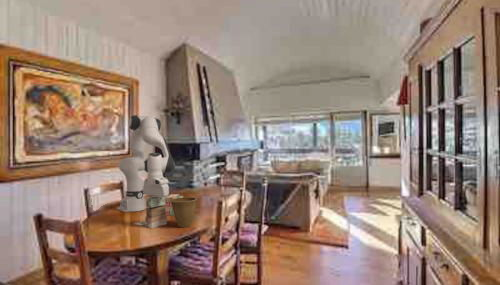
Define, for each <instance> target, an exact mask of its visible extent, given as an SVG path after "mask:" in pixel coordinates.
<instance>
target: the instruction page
mask: <svg viewBox="0 0 500 285" xmlns="http://www.w3.org/2000/svg"><path fill="white" fill-rule="evenodd" d="M133 225H136V226H144V225H145V220H142V221H138V222H133Z"/></svg>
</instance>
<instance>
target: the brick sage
mask: <svg viewBox="0 0 500 285" xmlns="http://www.w3.org/2000/svg"><path fill="white" fill-rule="evenodd" d="M158 199H159V198H158V196H153V197H150V198H149V197H146V198H145V205H146V208H152V207H157V206H161V205H162V206H165V197H162V200H161V204H158V203H157V201H158Z"/></svg>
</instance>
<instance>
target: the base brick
mask: <svg viewBox="0 0 500 285" xmlns="http://www.w3.org/2000/svg"><path fill="white" fill-rule="evenodd" d="M167 218H168V215H167V214H164V215H161V216H157V217H153V218H150V217H146V216H145V217H144V221H145V226H144V227H146V228H149V229H155V228H158V227H161V226H165V225H167V221H168V220H167Z"/></svg>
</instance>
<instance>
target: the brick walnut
mask: <svg viewBox="0 0 500 285" xmlns="http://www.w3.org/2000/svg"><path fill="white" fill-rule="evenodd" d="M145 211H146V212H145V213H146V215H145V217H150V218H153V217H157V216H161V215H164V214H165V205H161V206H157V207H152V208H150V207H146V209H145Z"/></svg>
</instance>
